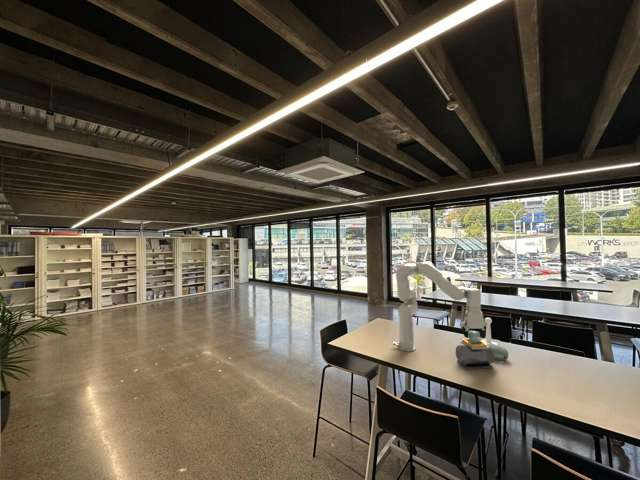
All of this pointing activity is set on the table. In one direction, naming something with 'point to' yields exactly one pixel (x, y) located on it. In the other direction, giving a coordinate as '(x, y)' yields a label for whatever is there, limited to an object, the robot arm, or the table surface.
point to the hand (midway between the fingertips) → (473, 337)
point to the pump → (474, 337)
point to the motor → (474, 355)
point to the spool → (499, 352)
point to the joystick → (488, 333)
